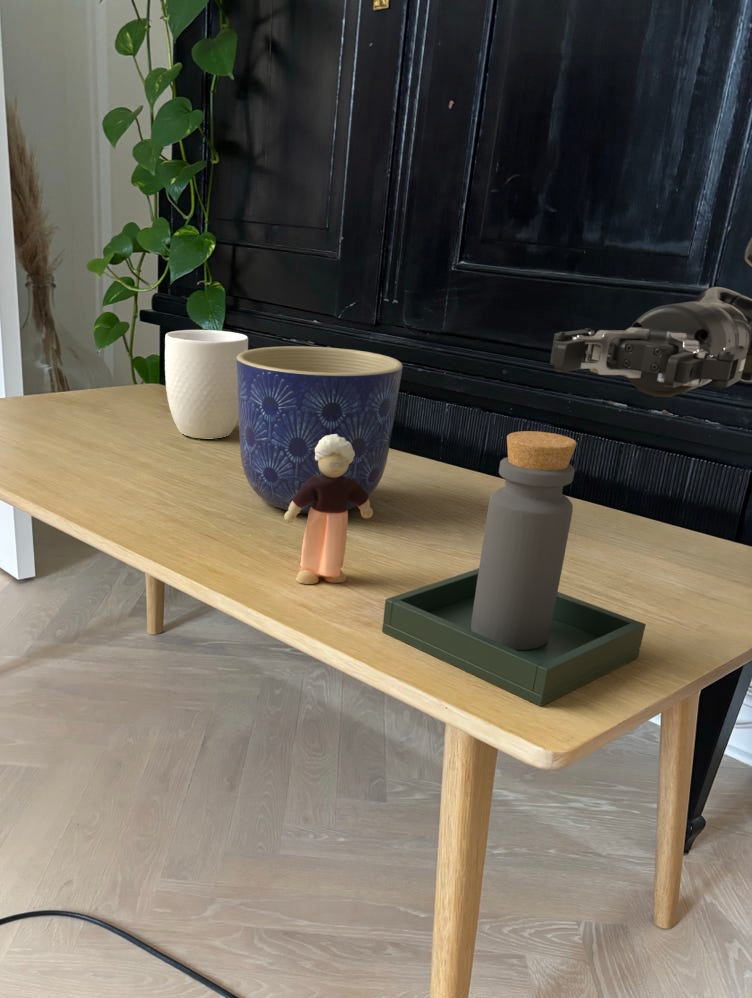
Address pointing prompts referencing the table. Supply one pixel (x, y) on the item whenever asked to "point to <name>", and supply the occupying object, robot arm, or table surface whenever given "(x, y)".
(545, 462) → the bottle
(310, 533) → the grandmother figurine
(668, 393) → the robot arm
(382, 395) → the planter
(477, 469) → the table surface
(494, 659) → the tray
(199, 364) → the mug
